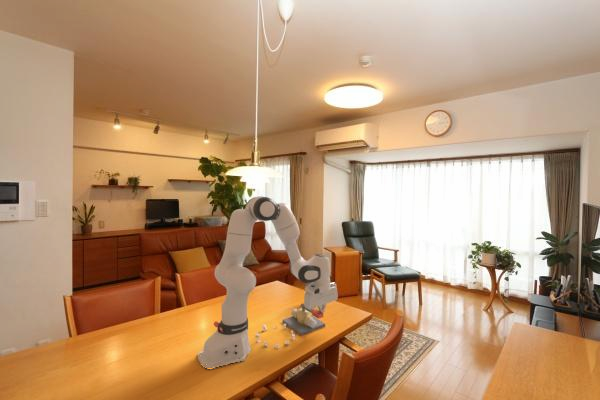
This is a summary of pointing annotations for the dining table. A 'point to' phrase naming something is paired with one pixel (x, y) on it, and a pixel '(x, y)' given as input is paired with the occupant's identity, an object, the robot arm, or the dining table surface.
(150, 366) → the dining table surface
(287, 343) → the game piece set
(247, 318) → the robot arm
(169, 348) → the dining table surface
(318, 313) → the valve lever
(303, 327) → the valve base
